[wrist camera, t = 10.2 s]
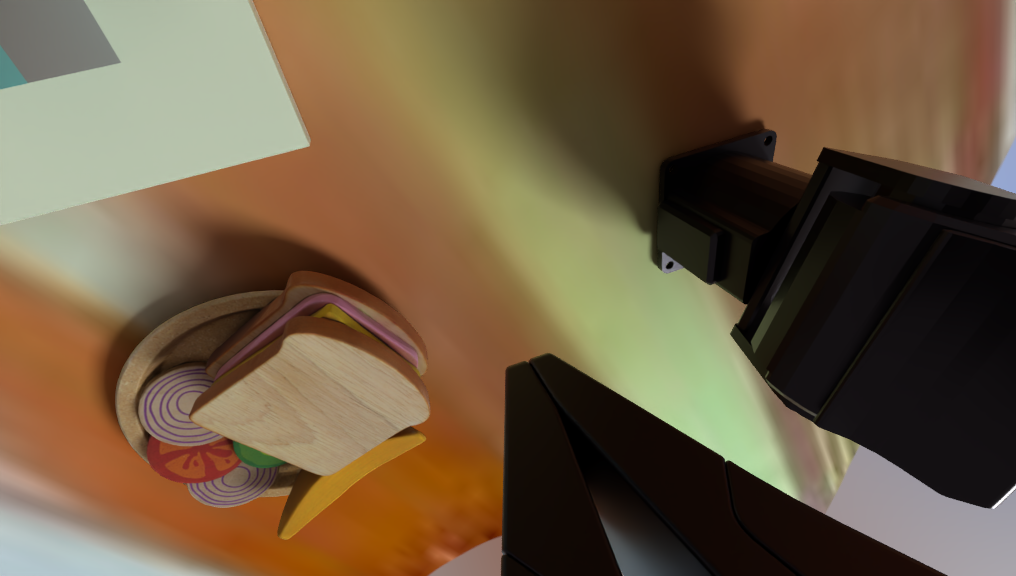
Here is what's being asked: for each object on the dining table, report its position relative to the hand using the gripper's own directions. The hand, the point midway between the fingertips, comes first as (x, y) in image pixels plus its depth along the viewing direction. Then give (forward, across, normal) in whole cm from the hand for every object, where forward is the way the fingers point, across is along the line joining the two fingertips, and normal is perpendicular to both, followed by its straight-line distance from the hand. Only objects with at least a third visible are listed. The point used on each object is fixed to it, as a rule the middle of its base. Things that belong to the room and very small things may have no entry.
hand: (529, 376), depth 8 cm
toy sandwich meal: (+13, +9, +8) cm, 18 cm away
